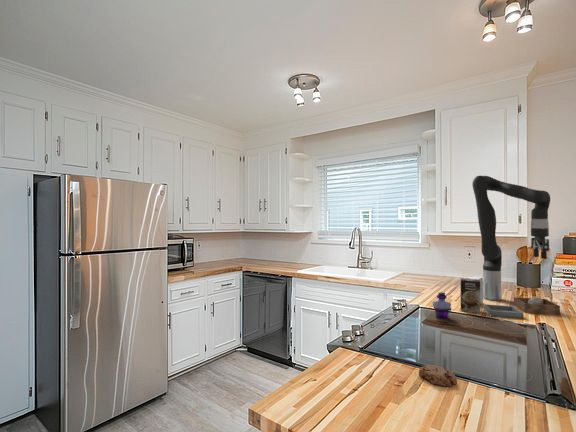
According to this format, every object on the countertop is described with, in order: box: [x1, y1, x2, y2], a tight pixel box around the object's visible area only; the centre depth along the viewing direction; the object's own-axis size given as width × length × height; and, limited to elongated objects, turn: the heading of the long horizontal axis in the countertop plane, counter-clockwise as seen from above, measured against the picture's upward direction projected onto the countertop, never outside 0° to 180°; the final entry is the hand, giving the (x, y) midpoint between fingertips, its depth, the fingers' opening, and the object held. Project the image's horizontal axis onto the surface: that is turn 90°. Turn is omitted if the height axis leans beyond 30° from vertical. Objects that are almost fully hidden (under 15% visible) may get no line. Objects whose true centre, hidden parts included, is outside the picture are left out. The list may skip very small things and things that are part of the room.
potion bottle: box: [432, 291, 452, 320], centre depth 157 cm, size 9×9×12 cm
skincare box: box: [466, 275, 484, 305], centre depth 183 cm, size 8×6×15 cm
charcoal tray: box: [482, 303, 524, 319], centre depth 162 cm, size 14×14×3 cm
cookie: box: [418, 364, 458, 388], centre depth 96 cm, size 10×11×3 cm
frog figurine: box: [528, 296, 543, 304], centre depth 169 cm, size 6×7×7 cm
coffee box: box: [459, 278, 481, 314], centre depth 169 cm, size 9×6×16 cm
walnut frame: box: [513, 296, 561, 316], centre depth 169 cm, size 15×15×4 cm
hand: (539, 257), depth 171 cm, fingers open, 8 cm apart
